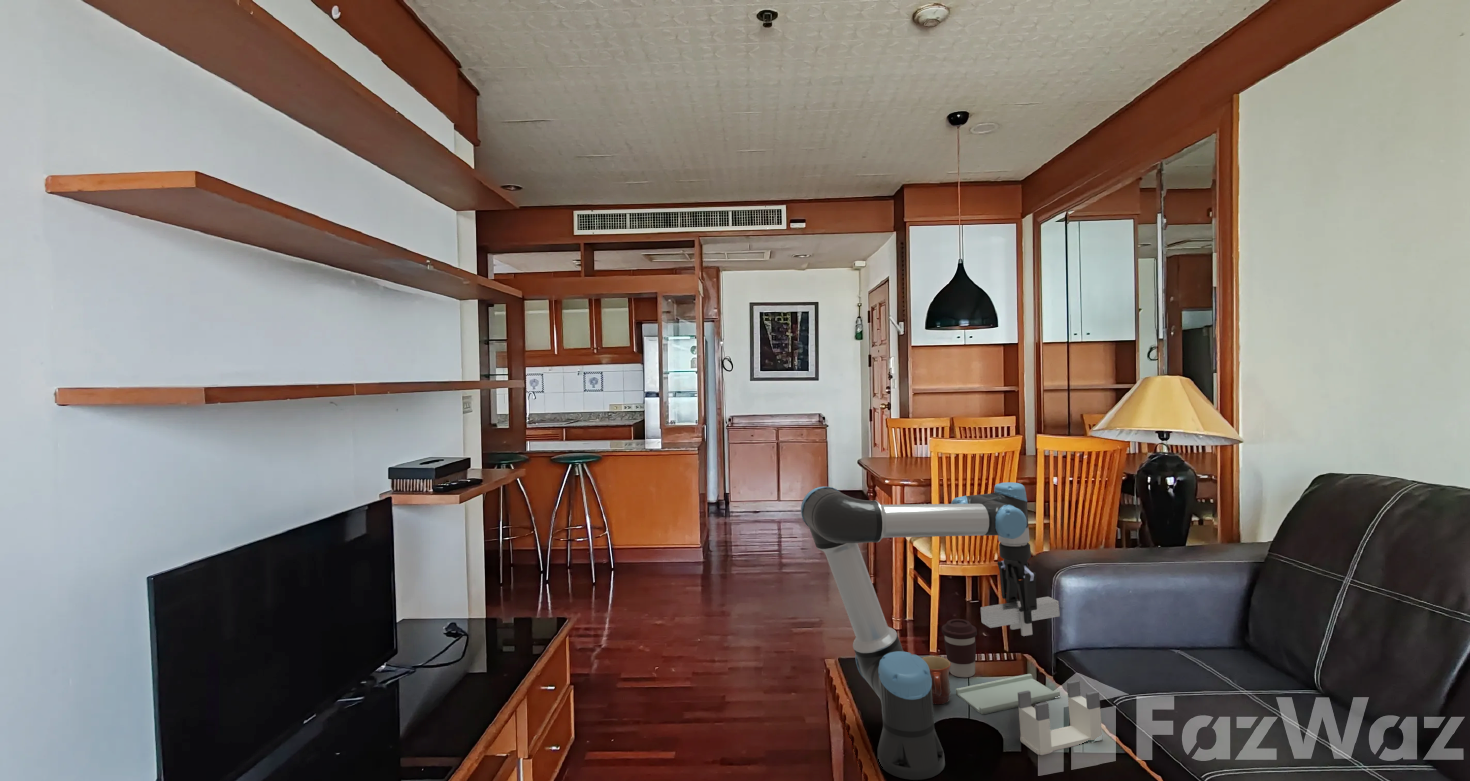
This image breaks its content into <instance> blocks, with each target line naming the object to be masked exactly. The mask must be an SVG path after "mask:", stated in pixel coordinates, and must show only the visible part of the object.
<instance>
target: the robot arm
mask: <svg viewBox="0 0 1470 781" xmlns="http://www.w3.org/2000/svg"><path fill="white" fill-rule="evenodd" d="M993 488H994V490H993V492H990V493H983V494H982V493H981V494H972V495H964V496H958V497H957V496H956V497H954V498H953V499H952V500H951V503H928V504H927V503H925V504H924V503H920V504H919V503H917V504H911V503H910V504H881V503H880V502H879V501H878V500H875V499H874V500H872V499H871V500H866V499H860V498H855V497H852V496H849V495H846V494H844V493H843V492H841V490H838V489H837V488H834V487H833V486H818V487H816V488H813V489H811V490H810V491H809V492H808V493H807V494H805V496H804V498H803V499H802V502H801V505H800V514H801V517H802V520H803V522H804V523H805V525H806V526H807V528H808V529H809V531H810V534H811V537H812V539H813V542H814V545H815V547H816V549H817V550H818V551H821V552H823V553H824V554H825V557H826V559H827V562H828V566H829V568H830V571H831V573H832V576H833V579H834V582H835V584H836V587H837V590H838V593H839V596H840V598H841V600H842V601H841V602H842V603H843V606H844V608H845V612H846V614H847V617H848V620H849V622H850V625H851V628H852V631H853V633H854V636H855V638H854V640H853V641H852V642H853V643H852V648H853V651H854V655H855V659H854V660H855V664H856V667H857V670H858V672H859V674H860V676H861V677H862V678H863V679H864V680H865V682H866V683H868V685H869V686H870V687H871V689H872V690H873V691H874V693H875V694H876V695H877V696H878V698H879V699H880V704H881V714H882V716H881V717H882V730H881V733H880V737H879V742H878V746H877V750H876V752H877V760H878V759H879V762H880V764H881V766H882V767H883V768H882V767H881V766H880V767H881V768H882V769H883V770H884V771H885V772H886V773H888V774H890V775H892V776H893V777H896V778H900V779H905V780H913V781H918V780H920V781H922V780H927V779H931V778H933V777H935V776H937V775H939V774H940V773H941V772H942V771H943V770H944V769H945V766H946V761H945V753H944V749H943V747H942V743H941V742H940V739H939V737H938V734H937V732H936V729H935V719H934V717H935V716H934V704H933V701H932V678H931V675H930V670H929V667H928V665H927V663H926V662H925V661H924V660H923V659H922V658H923V657H921V656H919V655H917V654H912V653H911V652H910V651H909V652H907V651H904V649H903V646H902V643H901V641H900V638H899V636H898V633H897V631H896V630H895V629H894V628H892V627H890V626H888V623H887V620H886V618H885V614H884V613H883V609H882V607H881V603H880V602H879V598H878V596H877V595H878V594H877V593H876V590H875V588H874V584H873V582H872V579H871V576H870V574H869V571H868V568H867V566H866V562H865V560H864V557H863V555H862V552H861V549H860V547H859V544H862V543H863V544H864V543H865V544H866V543H869V544H870V543H879V542H881V540H882V539H886V538H923V537H924V538H927V537H928V538H929V537H973V536H974V537H975V536H976V537H977V536H997V537H998V542H999V543H998V549H999V557H1000V558H1002V559H1003V560H999V561H997V568H998V570H999V579H1000V590H1001V597H1002V599H1003V600H1006V602H1005V603H1011V602H1017V601H1020V604H1021V609H1019V611H1020V622H1021V623H1017V624H1011V625H1009V629H1010V630H1019V629H1020V635H1021V636H1023V637H1025V636H1026V637H1027V636H1032V635H1034V634H1033V624H1032V623H1033V621H1032V615H1031V611H1032V610H1037V598H1038V597H1037V577H1038V575H1037V573H1036V572H1035V571H1034V572H1032V571H1031V570H1030V566H1029V564H1028V561H1029V559H1031V558H1032V552H1031V550H1032V549H1031V544H1030V540H1031V539H1030V530H1029V515H1028V514H1029V512H1028V498H1027V492H1026V487H1025V485H1023V484H1022V483H1020V482H1019V483H1018V482H1000V483H996V484H995V485H994V487H993ZM1018 597H1019V599H1018ZM879 762H878V763H879ZM880 764H879V765H880Z"/></svg>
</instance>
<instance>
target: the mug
mask: <svg viewBox="0 0 1470 781" xmlns="http://www.w3.org/2000/svg"><path fill="white" fill-rule="evenodd" d="M921 658H922V659H923V660H924V661H925V662H926V663H927V665H928V667H929V670H930V675H931V678H932V701H933V705H936V706H937V705H944V704H945V705H946V704H947V703H948V702H949V701H950V699H951V684H950V671H949V670H950V666H951V663H950V661H949V660H948V659H947V658H945V657H941V656H936V655H935V656H934V655H929V656H924V657H921Z"/></svg>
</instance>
